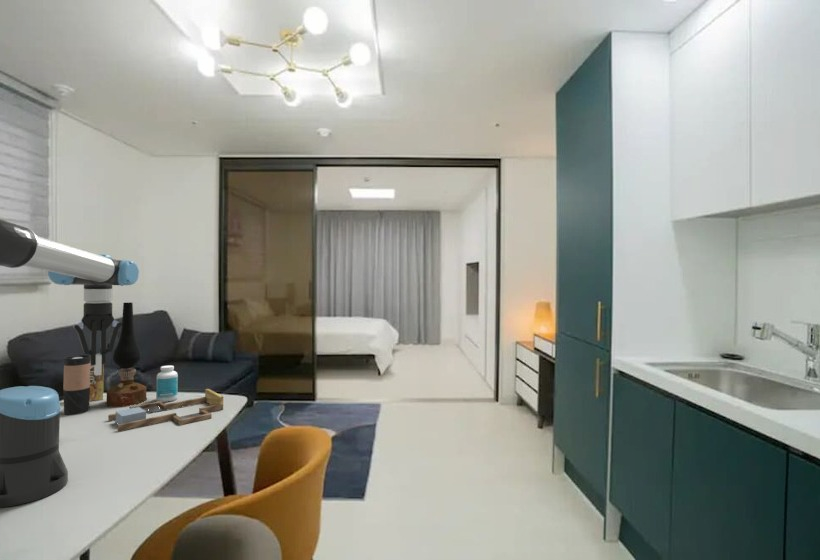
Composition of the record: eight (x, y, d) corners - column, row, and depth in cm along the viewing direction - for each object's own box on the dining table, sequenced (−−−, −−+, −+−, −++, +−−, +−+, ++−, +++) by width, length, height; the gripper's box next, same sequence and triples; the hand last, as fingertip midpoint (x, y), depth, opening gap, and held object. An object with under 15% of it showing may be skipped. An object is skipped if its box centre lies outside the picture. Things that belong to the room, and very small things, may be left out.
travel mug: (78, 415, 150) (79, 359, 150) (57, 414, 150) (58, 358, 150) (94, 408, 158) (95, 355, 158) (74, 408, 158) (75, 354, 158)
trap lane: (124, 437, 130) (124, 421, 130) (103, 415, 150) (103, 401, 150) (231, 413, 154) (231, 400, 154) (201, 397, 174) (201, 385, 174)
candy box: (103, 397, 172) (103, 359, 172) (103, 399, 169) (103, 361, 169) (75, 400, 167) (75, 362, 167) (75, 403, 164) (75, 364, 163)
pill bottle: (181, 399, 171) (181, 366, 171) (162, 403, 165) (162, 369, 165) (171, 396, 175) (171, 363, 175) (152, 400, 169) (152, 366, 169)
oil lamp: (115, 406, 172) (102, 309, 174) (156, 397, 175) (143, 302, 178) (99, 412, 158) (85, 307, 161) (144, 403, 162) (129, 300, 165)
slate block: (122, 428, 139) (122, 416, 139) (115, 423, 143) (115, 411, 143) (145, 423, 144) (146, 411, 144) (139, 418, 149) (139, 406, 149)
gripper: (119, 300, 144) (118, 369, 144) (70, 302, 135) (70, 375, 135) (124, 301, 139) (124, 373, 139) (74, 303, 129) (74, 380, 130)
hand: (97, 374), depth 137 cm, fingers closed
